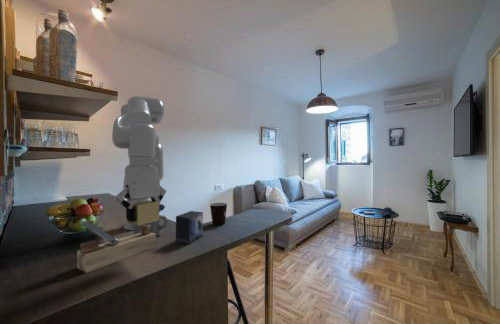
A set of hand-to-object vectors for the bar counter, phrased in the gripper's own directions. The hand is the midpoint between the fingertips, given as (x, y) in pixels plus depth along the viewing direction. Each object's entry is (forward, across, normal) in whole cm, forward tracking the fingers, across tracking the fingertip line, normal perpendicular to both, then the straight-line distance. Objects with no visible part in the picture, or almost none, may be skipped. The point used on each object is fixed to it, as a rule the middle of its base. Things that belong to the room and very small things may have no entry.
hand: (143, 218), depth 68 cm
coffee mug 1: (+14, -16, -21) cm, 30 cm away
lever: (+8, +4, -10) cm, 13 cm away
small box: (+14, -21, -2) cm, 25 cm away
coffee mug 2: (+14, -43, -7) cm, 46 cm away
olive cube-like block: (+1, 0, 0) cm, 1 cm away
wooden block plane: (+14, +2, -10) cm, 17 cm away
